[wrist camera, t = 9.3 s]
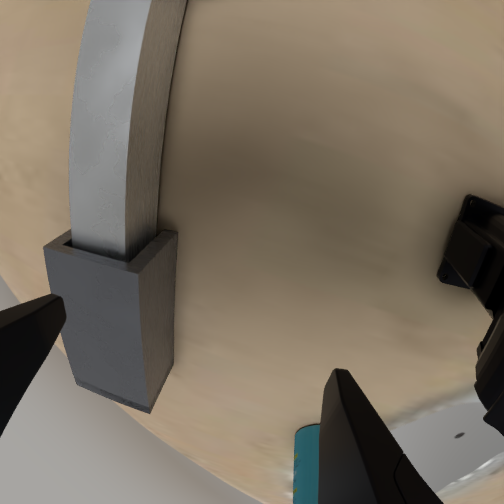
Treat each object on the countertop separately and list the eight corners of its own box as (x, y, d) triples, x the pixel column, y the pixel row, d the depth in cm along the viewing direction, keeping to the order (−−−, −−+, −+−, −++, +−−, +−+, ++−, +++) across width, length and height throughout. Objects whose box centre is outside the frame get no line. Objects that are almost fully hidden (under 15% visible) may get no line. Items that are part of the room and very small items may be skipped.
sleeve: (177, 232, 21) (138, 274, 15) (173, 364, 26) (149, 414, 21) (94, 214, 21) (43, 246, 16) (107, 342, 27) (76, 384, 21)
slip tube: (199, -42, 12) (174, -73, 8) (156, 267, 22) (127, 301, 18) (142, -36, 13) (109, -60, 8) (109, 255, 22) (76, 284, 18)
